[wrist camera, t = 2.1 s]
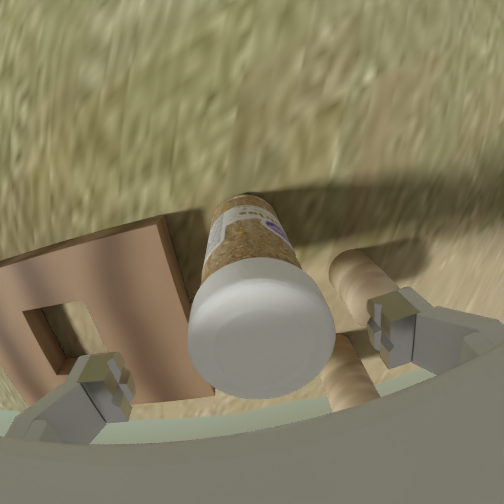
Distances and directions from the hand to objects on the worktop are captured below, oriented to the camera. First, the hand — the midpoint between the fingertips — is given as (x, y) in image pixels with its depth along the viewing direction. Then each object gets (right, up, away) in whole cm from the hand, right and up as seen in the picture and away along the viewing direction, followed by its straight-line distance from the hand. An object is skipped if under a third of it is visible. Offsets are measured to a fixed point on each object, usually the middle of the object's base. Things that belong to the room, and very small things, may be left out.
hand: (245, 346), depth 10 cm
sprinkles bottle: (0, +5, +12) cm, 13 cm away
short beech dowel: (+7, +2, +14) cm, 16 cm away
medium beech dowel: (+7, -5, +16) cm, 18 cm away
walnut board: (-14, -3, +14) cm, 20 cm away
